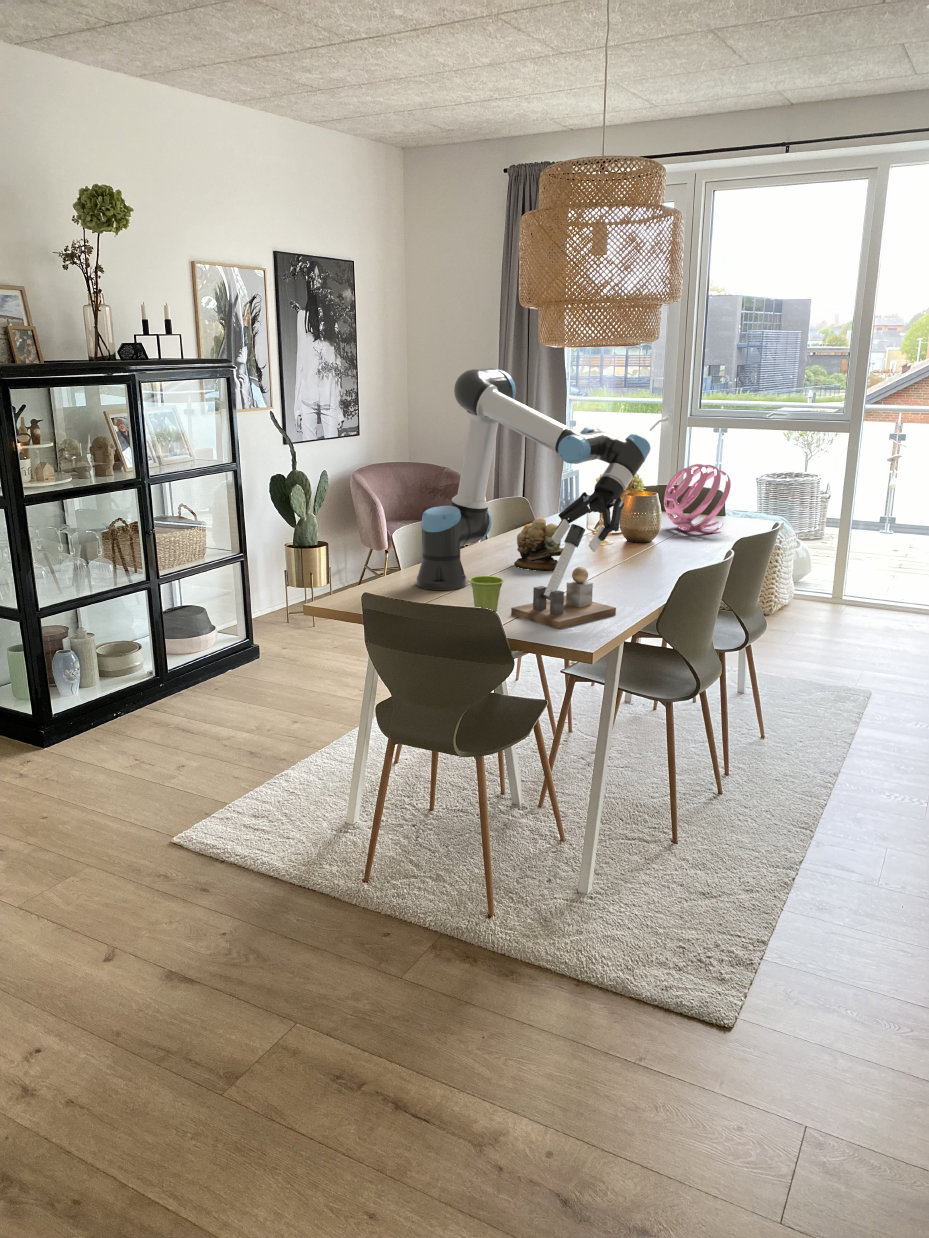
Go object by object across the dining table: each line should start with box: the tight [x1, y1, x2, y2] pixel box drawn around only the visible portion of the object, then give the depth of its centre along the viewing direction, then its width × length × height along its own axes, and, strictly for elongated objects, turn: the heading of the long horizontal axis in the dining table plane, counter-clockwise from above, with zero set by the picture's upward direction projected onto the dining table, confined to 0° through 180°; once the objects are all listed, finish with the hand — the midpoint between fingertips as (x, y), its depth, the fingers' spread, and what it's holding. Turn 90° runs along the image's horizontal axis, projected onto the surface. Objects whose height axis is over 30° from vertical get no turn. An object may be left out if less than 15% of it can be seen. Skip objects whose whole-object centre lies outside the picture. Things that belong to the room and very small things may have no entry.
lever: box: [542, 523, 586, 600], centre depth 252 cm, size 4×4×21 cm
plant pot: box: [469, 575, 504, 612], centre depth 260 cm, size 9×9×9 cm
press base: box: [510, 580, 617, 630], centre depth 255 cm, size 18×22×8 cm
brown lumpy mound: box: [513, 516, 564, 572], centre depth 312 cm, size 18×12×17 cm, turn 60°
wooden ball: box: [571, 566, 589, 583], centre depth 257 cm, size 4×4×4 cm
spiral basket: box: [663, 463, 732, 535], centre depth 375 cm, size 28×28×27 cm
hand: (572, 544), depth 253 cm, fingers open, 13 cm apart
